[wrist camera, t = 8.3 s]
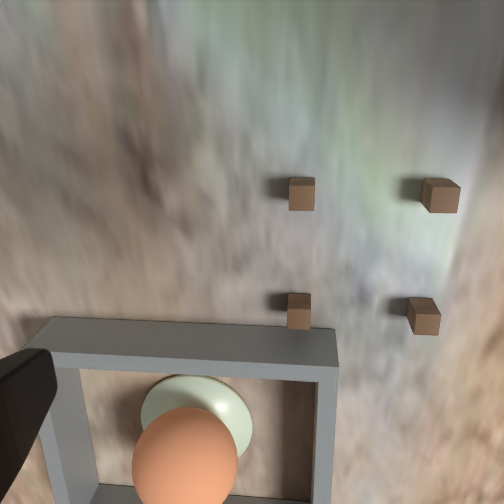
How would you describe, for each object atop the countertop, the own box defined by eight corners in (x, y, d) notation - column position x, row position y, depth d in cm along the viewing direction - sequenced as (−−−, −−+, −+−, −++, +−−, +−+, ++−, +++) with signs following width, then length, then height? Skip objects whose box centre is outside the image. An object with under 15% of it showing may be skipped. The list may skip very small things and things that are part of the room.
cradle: (449, 178, 19) (460, 187, 17) (429, 318, 21) (438, 335, 20) (290, 177, 19) (289, 185, 18) (288, 312, 22) (287, 328, 20)
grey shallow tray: (334, 329, 22) (339, 367, 19) (324, 513, 26) (326, 566, 23) (53, 316, 23) (19, 349, 20) (88, 492, 28) (63, 539, 25)
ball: (241, 387, 23) (228, 466, 19) (243, 463, 25) (232, 552, 20) (144, 383, 24) (108, 460, 19) (154, 458, 25) (123, 544, 21)
